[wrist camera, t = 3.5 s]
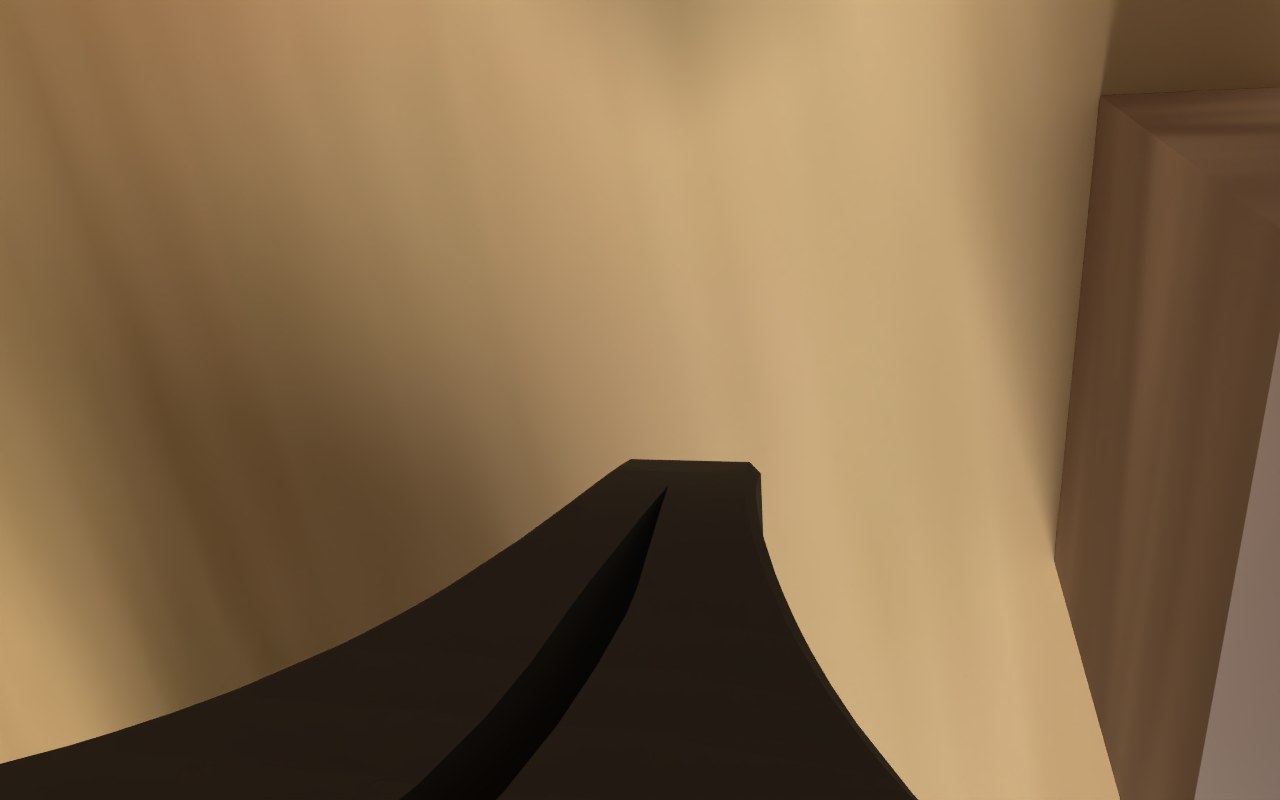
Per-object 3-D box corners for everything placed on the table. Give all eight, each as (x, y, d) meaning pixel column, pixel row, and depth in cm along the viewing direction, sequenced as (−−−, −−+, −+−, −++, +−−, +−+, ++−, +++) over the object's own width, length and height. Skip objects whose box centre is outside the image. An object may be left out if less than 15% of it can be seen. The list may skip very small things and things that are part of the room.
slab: (1053, 559, 16) (1164, 959, 10) (1098, 95, 13) (1296, 240, 7) (1223, 567, 15) (1456, 996, 9) (1309, 85, 13) (1722, 232, 6)
